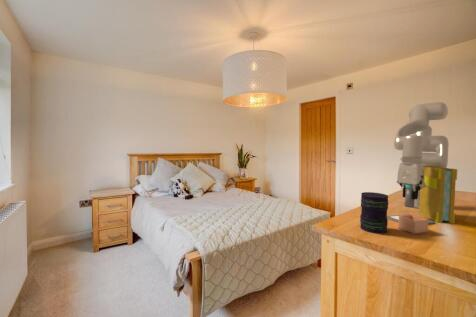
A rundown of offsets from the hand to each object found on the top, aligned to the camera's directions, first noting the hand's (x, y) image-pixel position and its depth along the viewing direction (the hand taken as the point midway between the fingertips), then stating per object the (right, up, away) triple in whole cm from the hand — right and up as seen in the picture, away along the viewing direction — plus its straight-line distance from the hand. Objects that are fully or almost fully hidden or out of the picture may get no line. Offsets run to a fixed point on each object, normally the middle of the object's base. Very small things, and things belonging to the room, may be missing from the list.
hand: (409, 197), depth 107 cm
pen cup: (-11, -11, -15) cm, 22 cm away
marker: (0, -4, 0) cm, 4 cm away
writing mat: (-3, -10, -3) cm, 11 cm away
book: (+13, -10, +2) cm, 17 cm away
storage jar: (-27, -11, -14) cm, 32 cm away
